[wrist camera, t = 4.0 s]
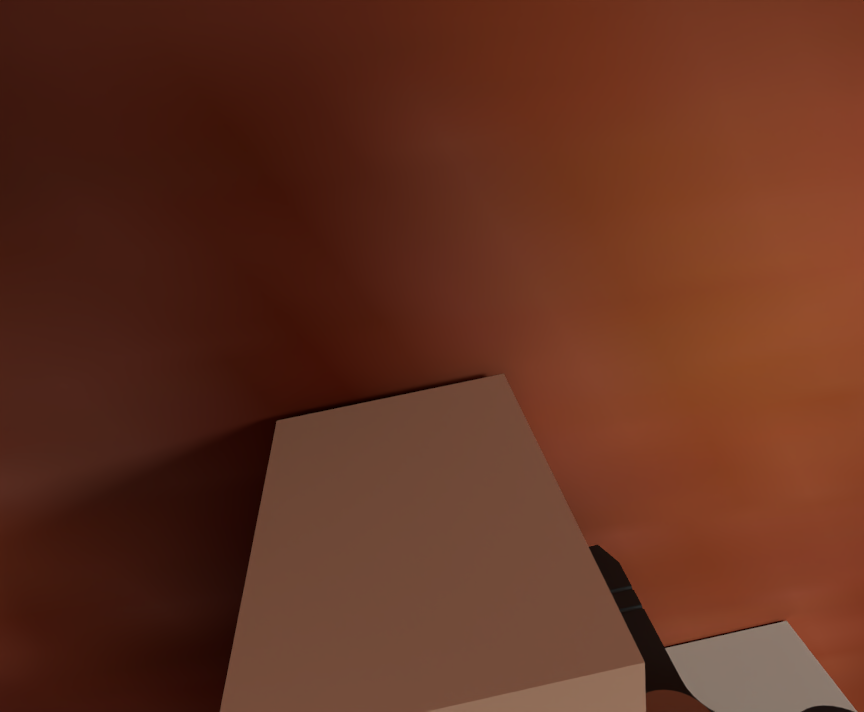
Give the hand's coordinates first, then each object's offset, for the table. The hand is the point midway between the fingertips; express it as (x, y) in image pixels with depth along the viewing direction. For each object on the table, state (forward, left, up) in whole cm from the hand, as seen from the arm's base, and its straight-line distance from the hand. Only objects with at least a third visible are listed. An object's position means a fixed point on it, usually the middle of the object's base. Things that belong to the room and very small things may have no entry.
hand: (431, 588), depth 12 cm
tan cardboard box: (0, 0, -1) cm, 1 cm away
